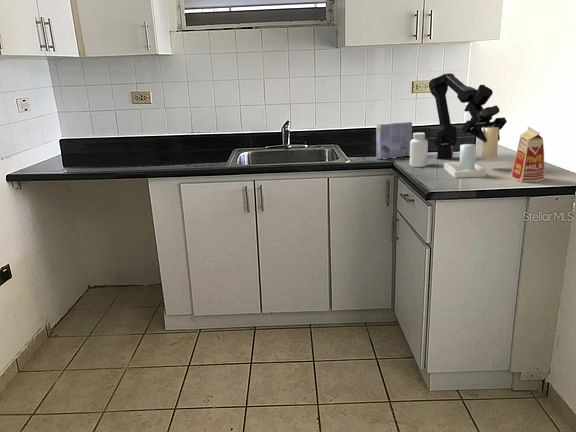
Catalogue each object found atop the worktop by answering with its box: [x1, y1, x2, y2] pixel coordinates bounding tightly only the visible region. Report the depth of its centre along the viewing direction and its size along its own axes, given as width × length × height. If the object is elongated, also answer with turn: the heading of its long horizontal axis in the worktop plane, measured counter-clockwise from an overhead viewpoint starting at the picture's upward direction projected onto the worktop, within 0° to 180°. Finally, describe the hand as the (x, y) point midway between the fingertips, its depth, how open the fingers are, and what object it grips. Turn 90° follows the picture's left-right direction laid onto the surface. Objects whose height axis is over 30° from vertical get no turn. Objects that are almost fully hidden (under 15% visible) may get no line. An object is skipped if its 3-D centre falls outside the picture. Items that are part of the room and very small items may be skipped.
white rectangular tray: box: [443, 161, 487, 179], centre depth 207 cm, size 20×12×3 cm, turn 175°
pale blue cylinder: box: [459, 143, 477, 171], centre depth 201 cm, size 6×6×12 cm
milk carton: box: [510, 126, 545, 183], centre depth 187 cm, size 9×9×20 cm
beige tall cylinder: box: [481, 127, 500, 158], centre depth 208 cm, size 6×6×12 cm
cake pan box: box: [375, 121, 413, 160], centre depth 250 cm, size 19×5×18 cm, turn 108°
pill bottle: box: [408, 132, 429, 168], centre depth 226 cm, size 8×8×15 cm
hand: (492, 140), depth 207 cm, fingers closed on beige tall cylinder, 6 cm apart
